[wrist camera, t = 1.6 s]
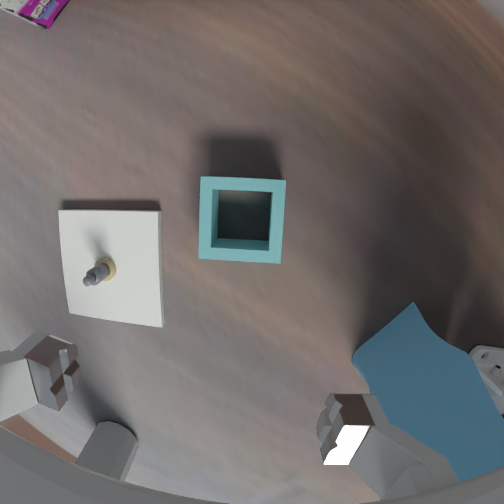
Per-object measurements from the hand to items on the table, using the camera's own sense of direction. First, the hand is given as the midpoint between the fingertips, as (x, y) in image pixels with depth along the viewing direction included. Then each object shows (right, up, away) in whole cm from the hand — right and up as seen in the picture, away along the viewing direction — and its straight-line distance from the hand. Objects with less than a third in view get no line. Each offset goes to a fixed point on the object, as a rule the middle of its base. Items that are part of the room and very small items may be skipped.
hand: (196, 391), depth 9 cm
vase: (+19, -8, +24) cm, 31 cm away
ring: (+1, +8, +20) cm, 22 cm away
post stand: (-13, +3, +22) cm, 26 cm away
